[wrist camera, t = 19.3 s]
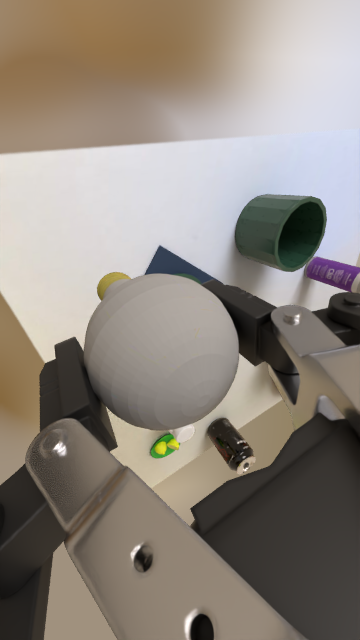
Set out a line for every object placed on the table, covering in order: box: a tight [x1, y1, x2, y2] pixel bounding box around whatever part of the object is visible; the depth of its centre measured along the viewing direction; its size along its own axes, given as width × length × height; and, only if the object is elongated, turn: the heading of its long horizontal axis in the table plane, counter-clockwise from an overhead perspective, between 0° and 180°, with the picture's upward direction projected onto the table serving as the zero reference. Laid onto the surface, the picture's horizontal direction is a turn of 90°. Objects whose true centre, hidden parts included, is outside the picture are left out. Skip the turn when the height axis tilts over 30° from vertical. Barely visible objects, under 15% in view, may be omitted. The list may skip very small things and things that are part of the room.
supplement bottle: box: [168, 424, 195, 443], centre depth 46 cm, size 5×5×8 cm
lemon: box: [151, 434, 180, 458], centre depth 55 cm, size 8×8×3 cm
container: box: [304, 257, 360, 293], centre depth 46 cm, size 5×5×15 cm
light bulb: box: [84, 272, 239, 430], centre depth 10 cm, size 6×6×10 cm
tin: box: [235, 194, 327, 272], centre depth 37 cm, size 10×10×8 cm
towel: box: [145, 246, 223, 284], centre depth 39 cm, size 14×14×1 cm
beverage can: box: [208, 418, 256, 474], centre depth 59 cm, size 7×7×12 cm
